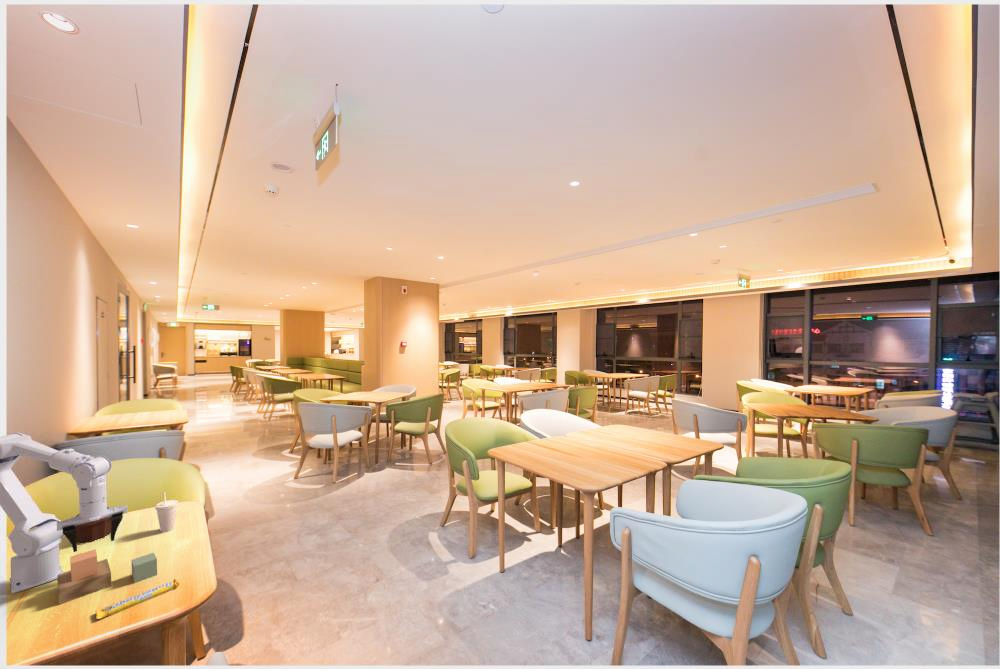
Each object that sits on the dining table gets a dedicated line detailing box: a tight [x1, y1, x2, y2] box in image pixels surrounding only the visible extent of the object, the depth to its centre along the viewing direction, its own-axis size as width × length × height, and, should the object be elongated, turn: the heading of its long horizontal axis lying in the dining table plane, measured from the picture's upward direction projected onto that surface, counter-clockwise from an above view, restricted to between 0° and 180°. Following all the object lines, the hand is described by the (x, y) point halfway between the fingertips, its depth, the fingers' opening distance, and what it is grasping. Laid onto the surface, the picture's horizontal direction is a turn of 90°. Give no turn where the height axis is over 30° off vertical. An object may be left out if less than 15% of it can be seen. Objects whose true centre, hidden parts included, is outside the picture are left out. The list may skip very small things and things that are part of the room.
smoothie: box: [154, 491, 179, 533], centre depth 144 cm, size 6×6×14 cm
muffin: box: [74, 506, 111, 544], centre depth 140 cm, size 12×11×10 cm
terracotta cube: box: [69, 548, 98, 581], centre depth 112 cm, size 5×5×5 cm
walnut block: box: [57, 558, 112, 605], centre depth 112 cm, size 10×10×4 cm
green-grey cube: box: [131, 552, 158, 584], centre depth 118 cm, size 5×5×5 cm
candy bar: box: [95, 578, 181, 620], centre depth 107 cm, size 17×4×2 cm, turn 141°
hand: (94, 544), depth 117 cm, fingers open, 7 cm apart
